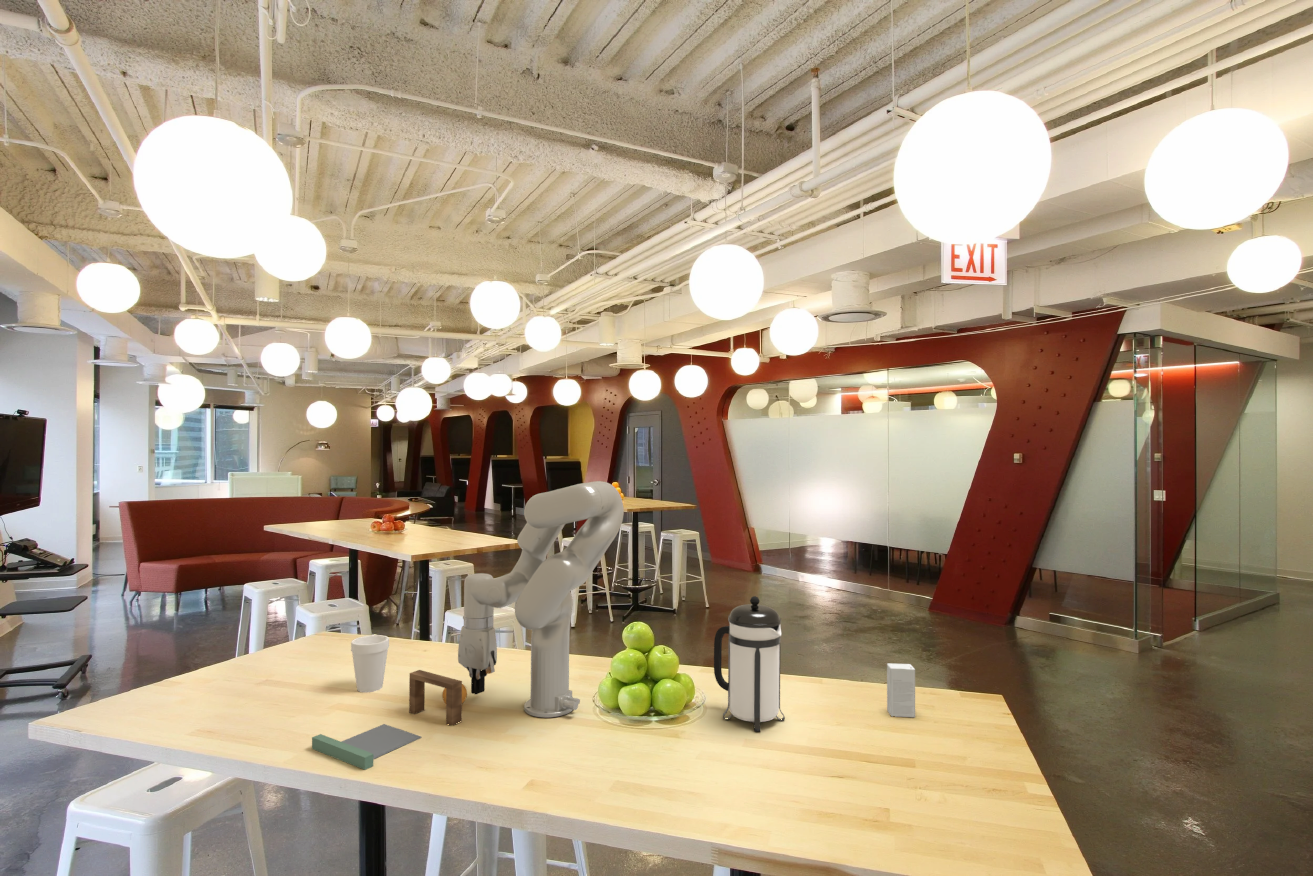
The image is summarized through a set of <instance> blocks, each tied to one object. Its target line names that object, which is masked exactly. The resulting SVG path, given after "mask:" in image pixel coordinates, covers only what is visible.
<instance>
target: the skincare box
mask: <svg viewBox="0 0 1313 876" xmlns="http://www.w3.org/2000/svg"><path fill="white" fill-rule="evenodd" d="M886 695H887V696H886V703H887V704H886V705H887V706H886V708H887V709H886V710H887V712H888V714H889V715H891V716H890V717H893V716H895V717H896V718H899V717H900V718H916V669H915V667H914V666H913V665H912V664H911V663H890V662H889V663H886Z"/></svg>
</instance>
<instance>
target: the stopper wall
mask: <svg viewBox="0 0 1313 876" xmlns="http://www.w3.org/2000/svg"><path fill="white" fill-rule="evenodd" d="M311 749H312V750H314V751H316V752H319V753H321V754H324V755H326V756H329V757H332V758H334V759H337V760H339V761H342V762H344V763H346V764H349V765H351V766H354V767H356V768H359V769H362V770H364V771H366V770H368V769H370V768H372V767H374V759H373V754H372V753H370V752H367V751H364V750H362V749H359V748H356V747H354V746H351V745H348V744H346V743H343V742H341V740H337V739H335V738H332V737H330V736H328V735H327V736H326V735H325V734H321V733H320V734H316V735H315V736H312V737H311Z"/></svg>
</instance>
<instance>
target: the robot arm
mask: <svg viewBox="0 0 1313 876" xmlns="http://www.w3.org/2000/svg"><path fill="white" fill-rule="evenodd" d="M624 513H625V510H624V502H623V499H622V496H621V494H620V492H619V491H618V490H617V488H616V487H615V486H613V484H611V483H609V482H606V481H600V480H598V481H597V480H596V481H590V482H589V481H588V482H583V483H577V484H574V485H570V486H566V487H562V488H557V489H554V490H550V491H546V492H541V493H537V494H535V495H532V497H530V498H529V500H527V502H526V504H525V507H524V511H523V514H524V518H525V521H526V524H525V525H524V527H523V528H522V530H521V531H520V533H519V534H518V536H517V539H516V540H517V541H516V542H517V544H518V546H519V548H520V549H521V554H520V557H519V558H518V561H517V562H516V564H515V565H514V566H513V568H512V570H511V571H510V572H509V573H505V574H504V575H501V576H498V577H495V578H494V577H493V575H491V574H490V573H483V572H481V573H473V574H469V575H467V576H466V577H465V578H464V585H463V616H462V619H463V626H461V629H460V633H459V639H458V650H457V661H458V663H459V664H460V665H461V666H462V667H463V668H464V669H466V670H467V671H468V674H469V675H468V676H469V677H470V679H471V680H470V681H471V682H470V683H471V684H470V687H471V688H470V693H471V694H474V695H479V694H482V693H484V692H485V689H486V688H485V687H486V686H485V685H486V684H485V683H486V681H485V680H486V679H485V678H486V677H487V676H488V674H492V673H494V672H495V671H496V669H495V666H496V664H497V661H498V660H497V659H498V647H497V646H498V645H497V635H496V629H495V627H494V619H495V617H494V616H495V615H494V610H495V609H494V608H496V609H501V608H505V607H508V606H510V605H512V604H514V603H515V607H514V614H515V618H516V619H515V620H516V621H517V622H518V624H519V625H520V626H521V627H523V628H524V629H526V630H529V631H531V635H530V637H531V638H530V641H531V642H530V698H529V699H528V700H526V702H524V704H523V705H524V706H523V709H524V712H525V713H526V714H528V715H530V716H532V717H537V718H545V719H546V718H557V717H561V716H565V715H568V714H569V713H572V711H577V710H578V707H579V704H580V702H581V699H580V698H578V697H573V690H571V689H570V632H571V630H570V629H571V619H572V614H573V607H574V606H573V605H574V603H573V602H574V600H573V594H572V591H573V590H575V589H577V588H579V587H581V586H582V585H584V584H585V583H586V581H588V579H589V577H590V576H591V575H592V573H593V571H594V569H595V568H596V567H597V566H598V564H599V562H601V561H600V560H602V558H603V556H604V555H605V553H606V551H608V549H609V547H610V545H611V544H612V542H614V540H615V538H616V537H617V535H618V533H619V531H620V528H621V527H622V524H623V521H624ZM584 520H586V521H585V522H584V524H582V526H581V527H580V528H579V529H578V531H577V532H576V534H575V535H574V537H573V538H572V540H571V541H570V543H568V545H567V546H566V548H565V549H563V550H562V551H560V552H557V553H555V554H551V555H550V556H549V557H547V555H548V553H549V551H550V550H551V548H552V546H553V545H554V544H555V543H554V542H555V541H556V539H557V538H558V537H559V535H560V533H561V532H562V530H563V528H564V527H565V525H566V524H571V523H574V522H580V521H584Z"/></svg>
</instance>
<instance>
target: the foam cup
mask: <svg viewBox="0 0 1313 876" xmlns="http://www.w3.org/2000/svg"><path fill="white" fill-rule="evenodd" d="M350 648H351V649H350V651H351V653H352V661H353V669H354V678H355V682H356V683H355V684H356V690H357V691H358V692H360V693H373V692H376V691H377V692H378V691H380V690H381V689H382V688H383V685H384V680H385V672H386V666H387V665H386V664H387V658H388V650H389V648H390V637H388V636H387V635H382V634H381V635H380V634H372V635H364V636H359V637H356V638H355V639H352V641H351V642H350Z"/></svg>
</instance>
